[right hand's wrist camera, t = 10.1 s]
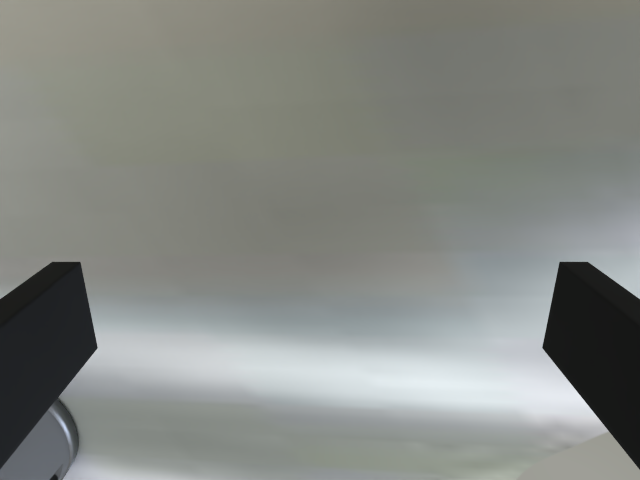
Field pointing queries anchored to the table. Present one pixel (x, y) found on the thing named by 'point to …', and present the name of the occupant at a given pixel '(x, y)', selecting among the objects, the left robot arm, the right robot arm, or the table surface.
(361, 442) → the table surface
